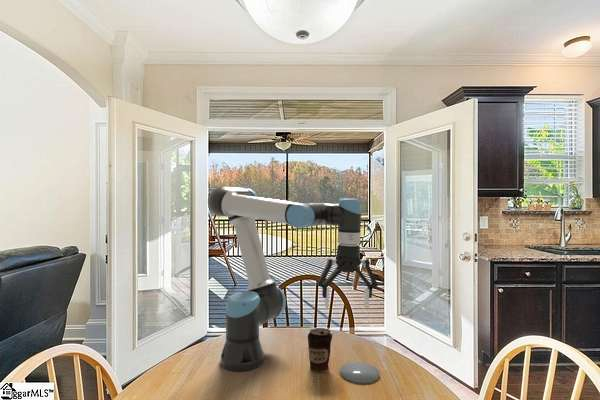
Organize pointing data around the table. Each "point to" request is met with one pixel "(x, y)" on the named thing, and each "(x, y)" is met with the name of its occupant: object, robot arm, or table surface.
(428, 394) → the table surface
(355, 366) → the grey domed puck
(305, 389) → the table surface
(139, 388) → the table surface
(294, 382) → the table surface
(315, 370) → the coffee cup
